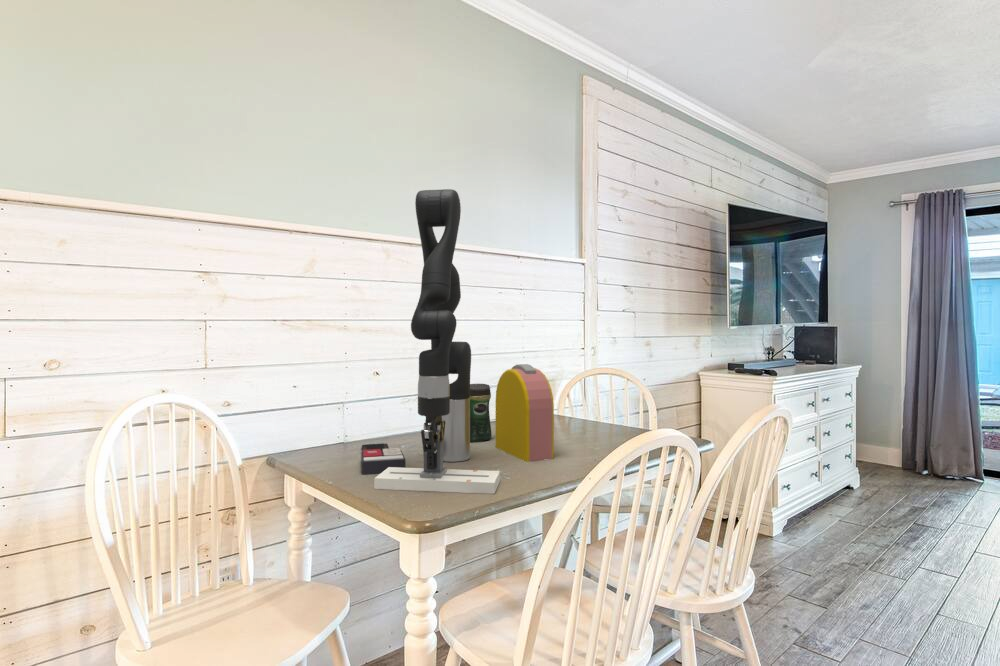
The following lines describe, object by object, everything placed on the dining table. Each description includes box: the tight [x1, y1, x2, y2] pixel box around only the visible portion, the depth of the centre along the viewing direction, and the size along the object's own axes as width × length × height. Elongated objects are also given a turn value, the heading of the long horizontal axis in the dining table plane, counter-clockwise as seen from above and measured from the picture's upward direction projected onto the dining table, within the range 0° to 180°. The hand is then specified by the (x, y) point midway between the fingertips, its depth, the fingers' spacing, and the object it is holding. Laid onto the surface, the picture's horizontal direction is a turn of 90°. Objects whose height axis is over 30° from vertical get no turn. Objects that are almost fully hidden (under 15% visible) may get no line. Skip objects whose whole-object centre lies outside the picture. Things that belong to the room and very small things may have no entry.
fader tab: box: [420, 440, 448, 478], centre depth 130 cm, size 6×5×8 cm
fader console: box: [373, 467, 501, 495], centre depth 130 cm, size 10×28×3 cm, turn 83°
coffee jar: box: [470, 383, 492, 443], centre depth 181 cm, size 10×8×19 cm
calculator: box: [360, 447, 406, 476], centre depth 147 cm, size 11×4×15 cm
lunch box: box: [495, 363, 555, 463], centre depth 163 cm, size 21×9×26 cm, turn 25°
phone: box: [361, 443, 390, 452], centre depth 164 cm, size 8×1×15 cm
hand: (433, 466), depth 130 cm, fingers closed on fader tab, 3 cm apart
